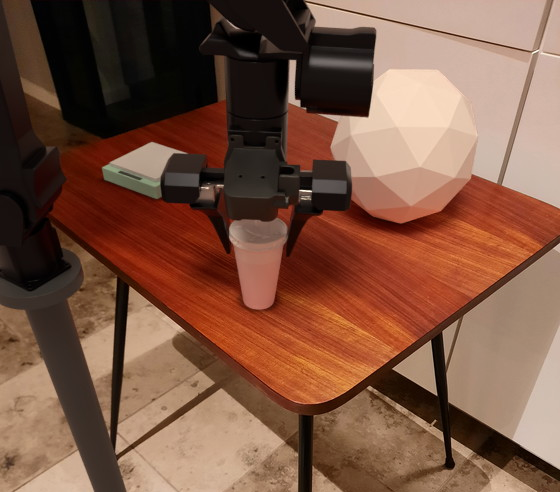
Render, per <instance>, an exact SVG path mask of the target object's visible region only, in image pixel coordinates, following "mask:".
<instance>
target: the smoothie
mask: <svg viewBox="0 0 560 492" xmlns="http://www.w3.org/2000/svg"><path fill="white" fill-rule="evenodd" d="M287 238H288V226H287V223H286V222H284V221H283V220H282V219H280V218H278V217H277V218H276V219H275V220H273V221H270V222H262V221H260V220H246V219H242V220H240V221H236V220H232V222H230V227H229V239H230V241H231V244H232V246H233V250H234V251H233V252H234V257H235V262H236V267H237V268H236V269H237V274H238V279H239V284H240V290H241V296H242V300H243V304H244V306H246V307H247V308H249V309H251V310H252V309H253V310H257V311H258V310H259V311H260V310H266V309H269V308H271V306H273V304H274V302H275V297H276V292H277V286H278V280H279V275H280V268H281V263H282V256H283V252H284V245H285V244H286V242H287Z"/></svg>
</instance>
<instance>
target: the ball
mask: <svg viewBox="0 0 560 492" xmlns="http://www.w3.org/2000/svg"><path fill="white" fill-rule="evenodd" d="M478 140H479V133H478V129H477V124H476V119H475V114H474V110H473V105H472V101H471V100H469V98H468V97H466V95H464V94H463V93H462V91H461V90H460V89H458V88H457V86H456V85H454V83H452V82H451V80H449V79H448V78H447V77H446V76H445V75H444V74H443V73H442V72H441V71H440V70H439V69H412V68H411V69H407V68H405V69H404V68H389V69H388V70H386V71H385V72H384V73H382V74H381V75H380V76H378V77H377V78H375V79H374V81H373V91H372V98H371V105H370V112H369V117H368V118H365V117H351V116H340V117H339V119H338V122H337V124H336V128H335V132H334V134H333V136H332V141H331V144H330V152H331V157H332V160H337V161H346V162H347V163H348V164H349V166H350V167H351V176H352V196H351V201H353V202H354V203H355V204H356V205H357V206H358V207H360V208H361V209H363V210H364V211H365V212H366V213H368V214H369V215H370V216H372V217H373V218H376V219H380V220H384V221H389V222H393V223H397V224H404V223H407V222H410V221H413V220H418V219H420V218H423V217H427V216H429V215H432V214H435V213H440V212H441V211H442V210H444V209H445V207H446V206H447V205H448V204H449V203H450V202H451V200H453V199H454V198H455V197H456V195H457V194H458V193H459V192H460V191H461V190H462V189H463V188H464V187H465V186H466V184H468V183H469V182H470V180H471V179H472V173H473V168H474V164H475V163H474V162H475V157H476V153H477V147H478Z"/></svg>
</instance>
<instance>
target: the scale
mask: <svg viewBox="0 0 560 492" xmlns="http://www.w3.org/2000/svg"><path fill="white" fill-rule="evenodd" d="M173 153H184V154H189V153H188V152H184V151H182V150H178V149H175V148H172V147H169V146H167V145H163V144H159V143H157V142H153V141H151V142H148V143H147V144H144V145H142V146H141V147H138V148H136V149H135V150H132V151H130V152H128V153H126V154H124V155H121V156H120V157H118V158H116V159H113V160H112V161H109V163H108V164H106V165H104V166H102V167H101V170H102V171H101V172H102V175H103V180H104V181H106V182H108V183H109V182H110V183H112V184H115V185H117V186H120V187H122V188H126V189H128V190H131V191H134V192H136V193H139V194H142V195H144V196H147V197H149V198H152V199H155V200H159V199H160V198H162V195H161V187H160V178H161V174H162V172H163V170H164V168H165V165H166V163H167V161H168V159H169V158H170V157H171V155H172V154H173Z"/></svg>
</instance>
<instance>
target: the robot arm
mask: <svg viewBox="0 0 560 492" xmlns="http://www.w3.org/2000/svg"><path fill="white" fill-rule="evenodd" d="M205 1H206V2H207V3H208V4H209V5H211V6H212V7H213V8H214V10H216V11H217V12H218V14H220V15H221V16H220V17H219V18H218V19H217V21H216V22H215V24H214V26H213V29H212V31H211V32H210V33H209V34H208V35H207V37H206V38H205V39H204V40H203V41H202V43H200V45H199V49H198V50H199V53H201V54H202V55H205V56H218V57H219V56H221V57H223V64H224V65H223V67H224V85H225V86H224V88H225V89H224V90H225V91H224V92H225V111H226V113H225V114H226V115H225V116H226V135H227V148H226V152H225V155H224V159H223V167H209V158H208V155H207V154H202V153H188V154H184V153H173V154H172V155H171V157H170V158H169V159H168V161H167V163H166V165H165V168H164V170H163V172H162V174H161V178H160V187H161V195H162V197H161V200H162V201H163V202H165V203H166V204H179V205H180V204H182V205H188V206H189V208H190V209H191V210H192V211H198V212H201V214H203V215H205V216H206V217H207V218H208V220H209V221H210V223H211V224H212V226H213V229H214V230H215V232H216V234H217V236H218V239H219V241H220V243H221V245H222V247H223V249H224V252H225V254H226V255H231V253H232V242H231V241H230V239H229V227H230V225H231V222H230V220H232V221H234V220H236V221H240V220H242V219H246V220H260V221H262V222H270V221H273V220H275V219H276V218H278V215H279V210H289V206H291V212H290V217H289V224H288V228H287V234H288V238H287V241H286V242H285V258H290V257H291V255H292V252H293V250H294V248H295V245H296V243H297V241H298V238H299V236H300V234H301V233H302V230H303V228H304V227H305V225H306V223H307V222H308V221H309V220H310V219H311V218H312V217H321V216H323V214H324V211H327V212H328V211H330V212H346V211H348V210H350V209H351V205H352V200H351V196H352V176H351V167H350V166H349V164H348V163H347V162H346V161H337V160H333V159H312V167H311V169H303V170H301V165H300V164H289V163H288V160H287V159H288V132H289V130H288V129H289V101H290V100H289V95H290V94H289V93H290V69H291V68H290V67H291V66H290V63H291V61H295V73H294V100H295V101H299V107H300V109H301V108H302V109H305V112H306V114H311V115H326V116H336V117H337V116H338V117H339V116H340V117H341V116H351V117H365V118H368V117H369V112H370V105H371V98H372V91H373V81H374V80H375V79H374V77H375V76H374V75H375V63H374V61H375V51H376V43H377V29H376V27H372V26H357V27H353V28H346V27H345V28H344V27H327V26H316V22H317V20H316V18H315V15H314V14H313V13H312V11H311V9H310V7H309V5H308V4H307V2H306V0H205ZM20 74H21V73H20V70H19V67H18V63H17V58H16V54H15V50H14V46H13V41H12V37H11V33H10V29H9V26H8V20H7V17H6V12H5V9H4V5H3V0H0V277H1V278H3V279H5V280H7V281H9V282H11V283H13V284H14V285H16V286H18V287H20V288H22V289H24V290H26V291H28V292H31V291H34V290H36V289H37V288H39V287H41V286H42V285H44V284H46V283H47V282H49V281H50V280H52V279H54V278H55V277H57V276H59V275H60V274H62V273H64V272H65V271H67V270H69V269H70V268H71V267H72V266H71V263H70V262H68V261H65V260H63V259H62V258H63V252H62V248H63V247H62V245H61V242H60V238H59V234H58V232H57V228H56V227H55V226H53V225H52V222H51V219H50V218H49V217H47V216H48V215H49V214H50V213H51V212H52V211H53V210H54V207H55V202H56V201H57V200H58V199H59V198H60V197H61V194H62V192H63V185H64V184H65V183H66V182H67V181H68V178H67V177H66V175H65V173H64V172H63V168H62V165H61V152H60V149H59V147H58V146H46V145H45V144H44V143H43V141H42V140H41V139H40V138H39V137H38V136H37V134H36V132H35V130H34V127H33V125H32V121H31V116H30V112H29V108H28V107H29V106H28V104H27V100H26V96H25V95H26V94H25V91H24V87H23V84H22V80H21V79H22V78H21V75H20Z"/></svg>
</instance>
